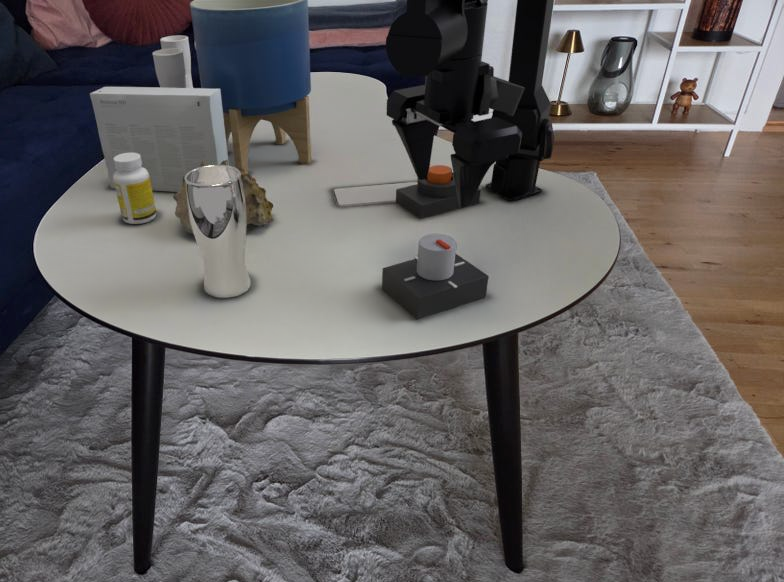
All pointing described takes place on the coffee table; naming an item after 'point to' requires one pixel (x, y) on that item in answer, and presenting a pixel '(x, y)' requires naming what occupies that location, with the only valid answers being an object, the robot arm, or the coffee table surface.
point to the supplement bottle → (133, 189)
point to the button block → (430, 198)
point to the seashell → (254, 198)
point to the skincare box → (161, 130)
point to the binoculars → (173, 62)
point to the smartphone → (368, 194)
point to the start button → (439, 174)
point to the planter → (257, 68)
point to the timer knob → (436, 256)
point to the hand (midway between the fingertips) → (442, 192)
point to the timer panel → (433, 287)
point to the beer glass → (219, 227)
